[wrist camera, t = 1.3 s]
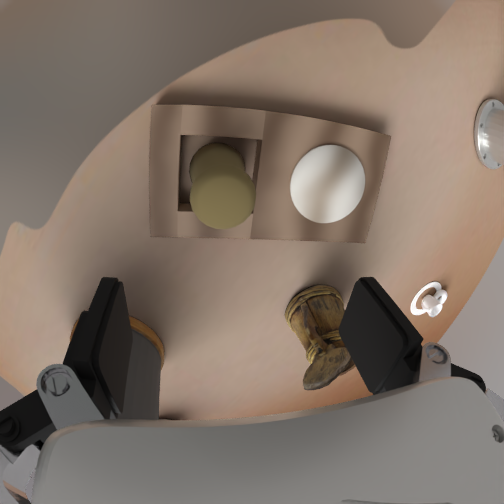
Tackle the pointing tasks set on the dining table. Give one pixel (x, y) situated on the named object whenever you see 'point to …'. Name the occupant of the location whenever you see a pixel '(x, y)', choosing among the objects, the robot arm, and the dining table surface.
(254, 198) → the cork
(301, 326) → the wooden mug
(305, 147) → the caddy board
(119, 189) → the dining table surface
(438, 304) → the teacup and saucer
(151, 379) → the decorative piece
